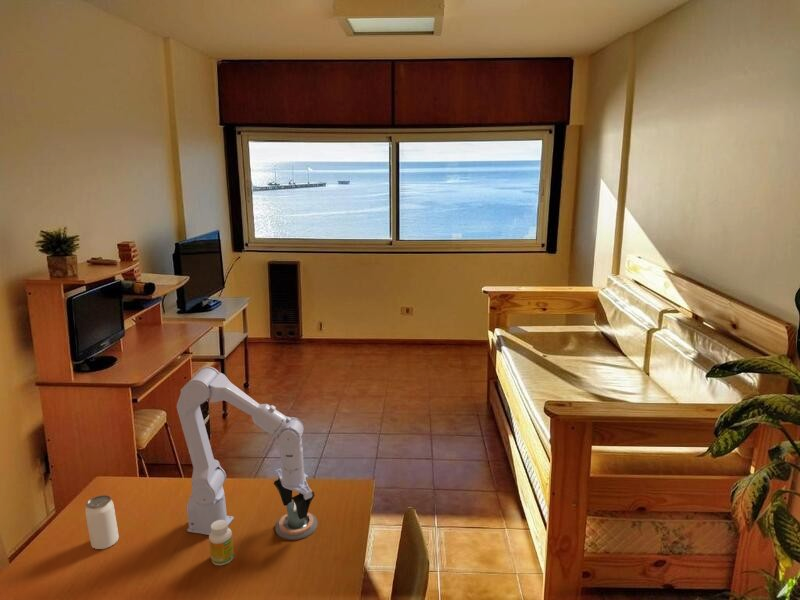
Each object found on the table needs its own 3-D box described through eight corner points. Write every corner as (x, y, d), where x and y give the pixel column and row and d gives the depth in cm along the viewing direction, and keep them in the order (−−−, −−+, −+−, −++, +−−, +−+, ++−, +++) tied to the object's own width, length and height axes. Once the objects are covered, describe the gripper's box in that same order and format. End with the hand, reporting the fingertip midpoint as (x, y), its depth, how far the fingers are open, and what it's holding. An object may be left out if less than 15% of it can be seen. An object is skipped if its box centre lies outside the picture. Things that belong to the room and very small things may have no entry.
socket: (268, 536, 151) (268, 531, 150) (285, 511, 161) (285, 506, 160) (308, 542, 148) (307, 537, 148) (323, 516, 158) (322, 511, 158)
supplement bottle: (227, 567, 140) (224, 533, 137) (207, 564, 141) (203, 530, 138) (238, 552, 145) (234, 519, 142) (218, 549, 146) (214, 516, 143)
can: (124, 537, 151) (118, 497, 147) (103, 553, 145) (96, 512, 142) (107, 531, 153) (100, 491, 150) (85, 546, 148) (78, 505, 144)
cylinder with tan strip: (304, 528, 152) (303, 509, 151) (287, 530, 152) (286, 510, 150) (304, 517, 157) (303, 498, 155) (288, 519, 156) (287, 500, 155)
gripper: (321, 470, 147) (323, 516, 151) (290, 449, 157) (293, 492, 161) (297, 481, 142) (300, 528, 146) (267, 458, 153) (271, 502, 156)
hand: (295, 510), depth 153 cm, fingers open, 7 cm apart
